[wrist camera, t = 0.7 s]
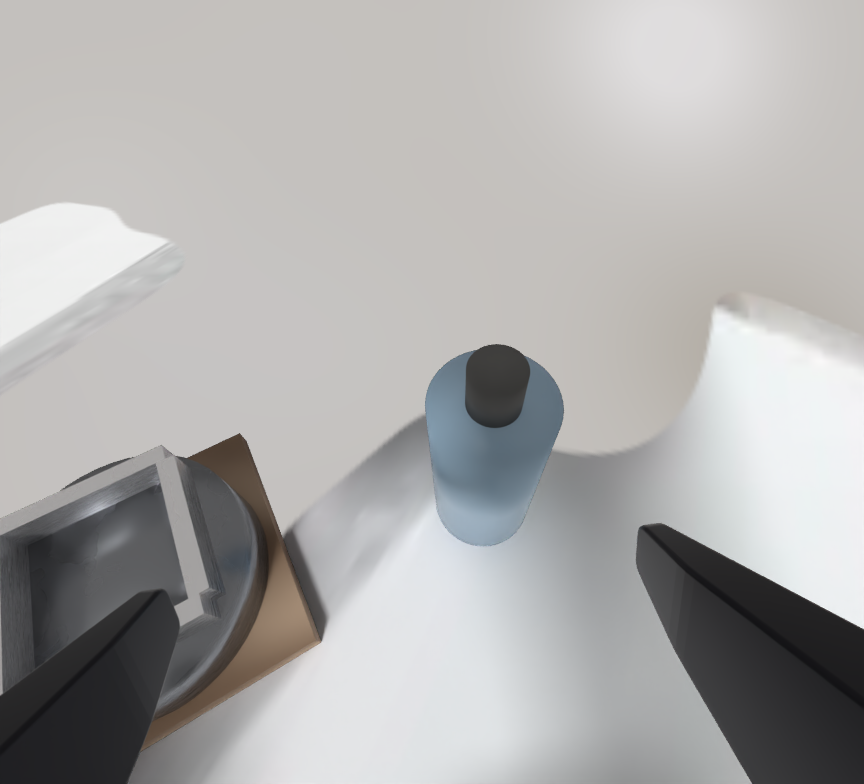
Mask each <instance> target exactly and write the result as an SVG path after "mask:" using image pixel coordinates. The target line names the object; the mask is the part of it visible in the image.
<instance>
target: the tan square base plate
mask: <svg viewBox="0 0 864 784" xmlns="http://www.w3.org/2000/svg"><path fill="white" fill-rule="evenodd" d="M157 588H162V589H165V590H166V591H167V592H168V594H169V596H170V598H171V601H172V603H173V606H174V608H175V610H176V613H177V615H178V617H179V621H180V631H179V636H178V639H177V642H176V645H175V649H174V652H173V655H172V659H171V662H170V665H169V669H168V672H167V675H166V678H165V682H164V685H163V688H162V692H161V695H160V698H159V702H158V705H157V708H156V711H155V714H154V717H153V720H152V723H151V725H150V728H149V731H148V733H147V736H146V738H145V741H144V743H143V746H142V748H141V751H143V750H144V749H146V748H148V747H149V746H151V745H153V744H154V743H156V742H157V741H159V740H161V739H162V738H164V737H166V736H167V735H169V734H171V733H172V732H174V731H176V730H177V729H179V728H181V727H182V726H184V725H186V724H187V723H189V722H190V721H192V720H194V719H195V718H197V717H199V716H200V715H202V714H204V713H205V712H207V711H209V710H210V709H212V708H214V707H215V706H217V705H219V704H220V703H222V702H224V701H225V700H227V699H228V698H230V697H232V696H233V695H235V694H237V693H238V692H240V691H242V690H243V689H245V688H247V687H248V686H250V685H252V684H253V683H255V682H257V681H258V680H260V679H262V678H263V677H265V676H266V675H268V674H270V673H271V672H273V671H275V670H276V669H278V668H280V667H281V666H283V665H285V664H286V663H288V662H290V661H291V660H293V659H295V658H296V657H298V656H299V655H301V654H303V653H304V652H306V651H308V650H309V649H311V648H313V647H314V646H316V645H318V644H319V643H321V640H320V637H319V634H318V632H317V629H316V626H315V624H314V621H313V618H312V616H311V613H310V610H309V607H308V605H307V602H306V599H305V597H304V594H303V591H302V589H301V586H300V583H299V581H298V578H297V575H296V573H295V570H294V567H293V565H292V562H291V559H290V557H289V554H288V551H287V549H286V546H285V543H284V540H283V538H282V535H281V532H280V530H279V527H278V524H277V522H276V519H275V516H274V514H273V511H272V508H271V506H270V503H269V500H268V498H267V495H266V492H265V490H264V487H263V484H262V482H261V479H260V476H259V473H258V471H257V468H256V465H255V463H254V460H253V457H252V455H251V452H250V449H249V447H248V444H247V441H246V440H245V439H244V438H243V437H242V435H241V434H240V433H239V434H237V435H235V436H233V437H231V438H229V439H227V440H225V441H222V442H220V443H218V444H216V445H214V446H212V447H209V448H208V449H205V450H203V451H201V452H199V453H197V454H195V455H192V456H190V457H188V458H184V457H178V456H174V455H173V454H172V453H171V452H169V451H168V450H167V449H165V448H164V447H163V446H162V445H160V446H158V447H156V448H154V449H151V450H150V451H147V452H145V453H143V454H140V455H138V456H136V457H132V458H127V459H124V460H120V461H117V462H113V463H111V464H108V465H106V466H103V467H101V468H98V469H96V470H94V471H92V472H90V473H88V474H86V475H84V476H82V477H80V478H79V479H77V480H76V481H74V482H72V483H71V484H69V485H67V486H66V487H65V488H63V489H62V490H60V491H59V492H57V493H55V494H53V495H51V496H49V497H46V498H44V499H42V500H40V501H38V502H36V503H33V504H31V505H29V506H27V507H24V508H22V509H20V510H18V511H16V512H14V513H11V514H9V515H7V516H5V517H3V518H0V695H1V694H3V693H4V692H5V691H7V690H8V689H9V688H11V687H12V686H13V685H15V684H16V683H18V682H19V681H20V680H22V679H23V678H24V677H26V676H27V675H28V674H30V673H31V672H32V671H34V670H35V669H36V668H38V667H39V666H40V665H42V664H43V663H44V662H46V661H47V660H48V659H50V658H51V657H52V656H54V655H55V654H56V653H58V652H59V651H60V650H62V649H63V648H64V647H66V646H67V645H68V644H70V643H71V642H72V641H74V640H75V639H76V638H78V637H79V636H80V635H82V634H83V633H84V632H86V631H87V630H88V629H90V628H91V627H92V626H94V625H95V624H96V623H98V622H99V621H100V620H102V619H103V618H104V617H106V616H107V615H108V614H110V613H111V612H112V611H114V610H115V609H117V608H118V607H119V606H121V605H122V604H123V603H125V602H126V601H127V600H129V599H130V598H131V597H133V596H134V595H135V594H137V593H138V592H140V591H143V590H149V589H157ZM141 751H140V752H141Z"/></svg>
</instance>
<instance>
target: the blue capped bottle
mask: <svg viewBox="0 0 864 784" xmlns="http://www.w3.org/2000/svg"><path fill="white" fill-rule="evenodd" d="M425 410H426V419H427V428H428V437H429V445H430V454H431V462H432V471H433V480H434V488H435V497H436V505H437V511H438V514H439V517H440V519H441V521H442V523H443V525H444V526H445V528H446V529H447V530H448V531H449V532H450V533H451V534H452V535H453V536H455V537H456V538H458V539H459V540H461V541H463V542H465V543H468V544H471V545H476V546H491V545H496V544H499V543H501V542H503V541H505V540H507V539H508V538H510V537H511V536H512V535H513V534H514V533H515V532H516V531H517V530H518V529H519V527H520V526H521V524H522V522H523V520H524V517H525V515H526V512H527V510H528V507H529V505H530V502H531V500H532V497H533V495H534V492H535V490H536V487H537V485H538V482H539V480H540V477H541V475H542V472H543V470H544V467H545V465H546V462H547V460H548V457H549V455H550V452H551V450H552V447H553V445H554V442H555V440H556V437H557V435H558V433H559V430H560V427H561V425H562V420H563V413H564V407H563V400H562V396H561V393H560V390H559V388H558V386H557V384H556V382H555V381H554V379H553V378H552V377H551V375H550V374H549V373H548V372H547V371H546V370H545V369H544V368H543V367H542V366H540V365H539V364H538V363H536V362H535V361H533V360H532V359H530V358H528V357H526V356H524V355H523V354H522V353H520V352H519V351H518V350H516V349H514V348H512V347H509V346H506V345H499V344H495V345H488V346H484V347H482V348H480V349H478V350H474V351H471V352H467V353H464V354H462V355H459V356H457V357H456V358H454V359H452V360H450V361H449V362H448V363H446V364H445V365H444V366H443V367H442V368H441V369H440V370H439V371H438V372H437V373H436V375H435V376H434V378H433V379H432V381H431V383H430V385H429V387H428V390H427V394H426V401H425Z"/></svg>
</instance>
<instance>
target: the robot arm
mask: <svg viewBox="0 0 864 784" xmlns="http://www.w3.org/2000/svg"><path fill="white" fill-rule="evenodd" d="M636 565H637V569H638V572H639V574H640V576H641V579H642V581H643V583H644V585H645V587H646V590H647V592H648V594H649V596H650V598H651V600H652V603H653V605H654V607H655V609H656V611H657V614H658V616H659V618H660V620H661V622H662V624H663V627H664V629H665V631H666V633H667V635H668V638H669V640H670V642H671V644H672V646H673V648H674V650H675V652H676V653H677V655H678V657H679V659H680V661H681V663H682V664H683V666H684V668H685V669H686V671H687V673H688V675H689V676H690V678H691V680H692V681H693V683H694V685H695V687H696V688H697V690H698V692H699V693H700V695H701V697H702V699H703V700H704V702H705V704H706V705H707V707H708V709H709V711H710V712H711V714H712V716H713V717H714V719H715V721H716V723H717V724H718V726H719V728H720V729H721V731H722V733H723V735H724V736H725V738H726V740H727V741H728V743H729V745H730V747H731V748H732V750H733V752H734V753H735V755H736V757H737V759H738V760H739V762H740V764H741V765H742V767H743V769H744V770H745V772H746V774H747V776H748V777H749V779H750V781H751V782H752V784H864V629H862V628H860V627H858V626H857V625H855V624H853V623H851V622H849V621H847V620H845V619H843V618H841V617H839V616H838V615H836V614H834V613H832V612H830V611H828V610H826V609H824V608H822V607H820V606H819V605H817V604H815V603H813V602H811V601H809V600H807V599H805V598H803V597H801V596H800V595H798V594H796V593H794V592H792V591H790V590H788V589H786V588H784V587H782V586H781V585H779V584H777V583H775V582H773V581H771V580H769V579H767V578H765V577H764V576H762V575H760V574H758V573H756V572H754V571H752V570H750V569H748V568H746V567H745V566H743V565H741V564H739V563H737V562H735V561H733V560H731V559H729V558H727V557H726V556H724V555H722V554H720V553H718V552H716V551H714V550H712V549H710V548H708V547H707V546H705V545H703V544H701V543H699V542H697V541H695V540H693V539H691V538H689V537H688V536H686V535H684V534H682V533H680V532H678V531H676V530H674V529H672V528H670V527H669V526H667V525H664V524H662V523H656V524H648V525H643V526H641V527H640V528H639V530H638V537H637V550H636ZM179 631H180V621H179V617H178V615H177V613H176V610H175V608H174V606H173V603H172V601H171V598H170V596H169V594H168V592H167V591H166V590H165V589H162V588H157V589H149V590H143V591H140V592H138V593H137V594H135V595H134V596H133V597H131V598H130V599H129V600H127V601H126V602H125V603H123V604H122V605H121V606H119V607H118V608H117V609H115V610H114V611H112V612H111V613H110V614H108V615H107V616H106V617H104V618H103V619H102V620H100V621H99V622H98V623H96V624H95V625H94V626H92V627H91V628H90V629H88V630H87V631H86V632H84V633H83V634H82V635H80V636H79V637H78V638H76V639H75V640H74V641H72V642H71V643H70V644H68V645H67V646H66V647H64V648H63V649H62V650H60V651H59V652H58V653H56V654H55V655H54V656H52V657H51V658H50V659H48V660H47V661H46V662H44V663H43V664H42V665H40V666H39V667H38V668H36V669H35V670H34V671H32V672H31V673H30V674H28V675H27V676H26V677H24V678H23V679H22V680H20V681H19V682H18V683H16V684H15V685H13V686H12V687H11V688H9V689H8V690H7V691H5V692H4V693H3V694H1V695H0V784H127V783H128V780H129V778H130V776H131V773H132V771H133V768H134V766H135V763H136V761H137V758H138V756H139V753H140V751H141V748H142V746H143V743H144V741H145V738H146V736H147V733H148V731H149V728H150V725H151V723H152V720H153V717H154V714H155V711H156V708H157V705H158V702H159V698H160V695H161V692H162V688H163V685H164V682H165V678H166V675H167V672H168V669H169V665H170V662H171V659H172V655H173V652H174V649H175V645H176V642H177V639H178V636H179Z"/></svg>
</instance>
